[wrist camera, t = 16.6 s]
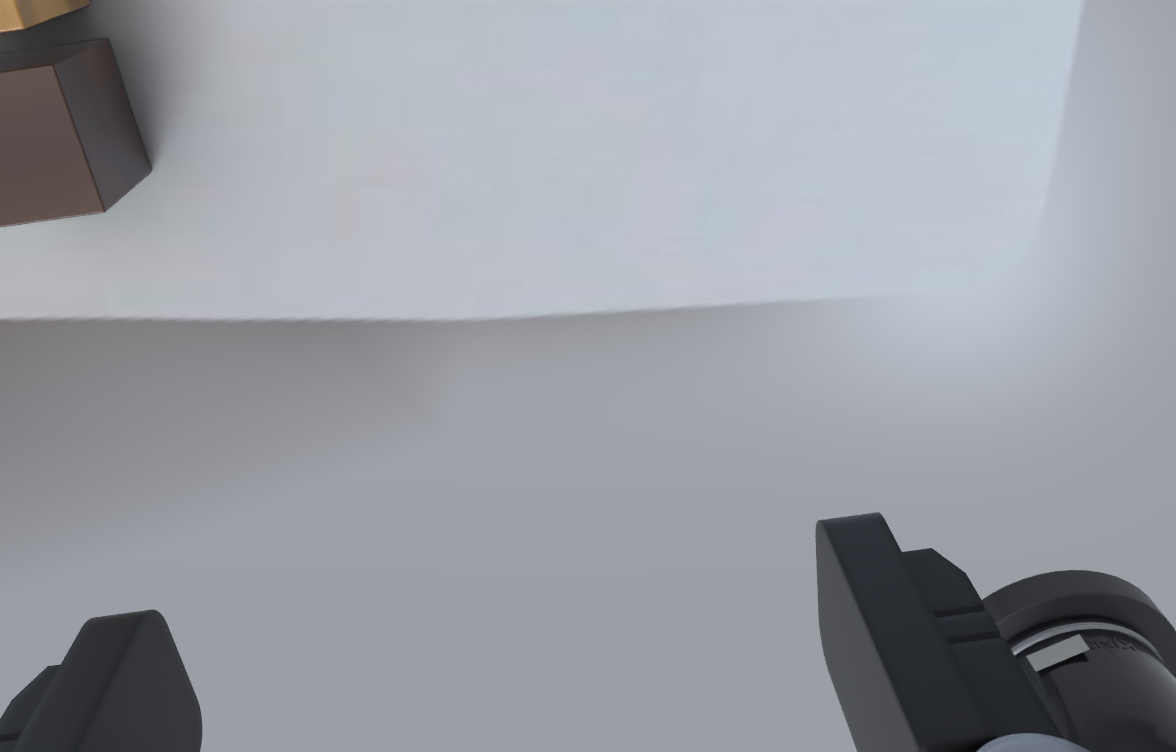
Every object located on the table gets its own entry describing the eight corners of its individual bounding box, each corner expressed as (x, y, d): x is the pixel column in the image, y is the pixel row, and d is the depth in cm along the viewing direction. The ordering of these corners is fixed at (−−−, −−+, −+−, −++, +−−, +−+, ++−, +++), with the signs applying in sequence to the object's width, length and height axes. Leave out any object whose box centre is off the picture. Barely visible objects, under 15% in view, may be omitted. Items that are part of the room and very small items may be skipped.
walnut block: (152, 171, 36) (105, 212, 32) (24, 190, 36) (-38, 233, 32) (109, 38, 34) (52, 64, 30) (-27, 58, 34) (-101, 86, 30)
